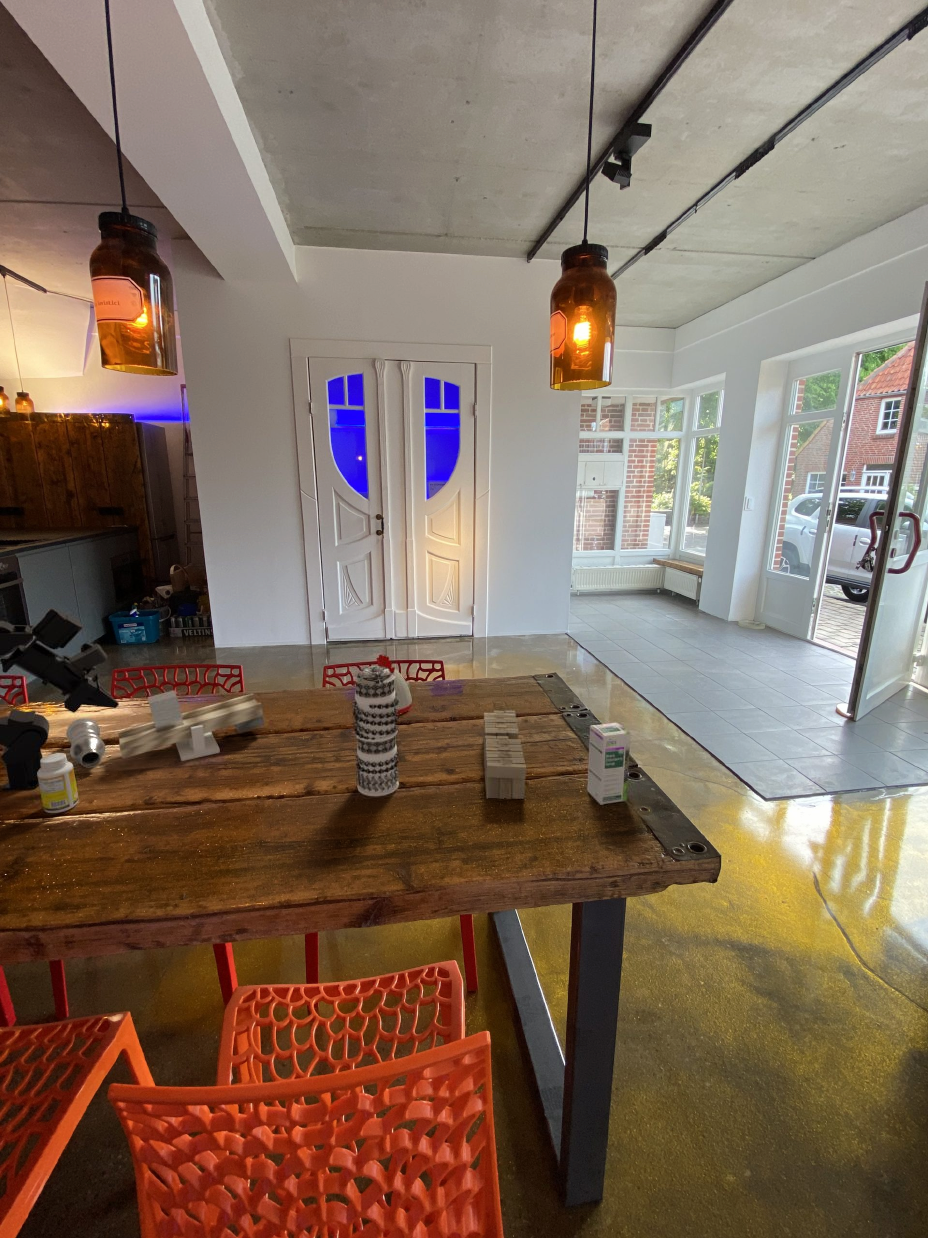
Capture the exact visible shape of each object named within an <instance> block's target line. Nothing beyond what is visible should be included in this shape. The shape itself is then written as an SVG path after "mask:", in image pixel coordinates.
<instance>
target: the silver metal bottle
mask: <svg viewBox="0 0 928 1238" xmlns="http://www.w3.org/2000/svg"><path fill="white" fill-rule="evenodd" d="M100 734H101V729H100V726H99V724H98V723H97V722H96V721H95V720H93V719H91V718H86V717H82V718H78V719H75V720H73V721H72V722H71V723H70V724H69V726H68V727H67V728H66V733H65V735H66V738H67V740H68V742H69V743H70V745H71V746H70V748H69V749H70V750H69V754H70V758H71V759H72V760H73V761H74V762H75V763H77V764H79V765H82V766H83V767H85V768H94V767H96V766H98V765H99V764H100V763H101V761H102V758H103V757H104V755H105V753H106V748H107V747H106V745H105V742H104V741H103V739H101V738H100Z"/></svg>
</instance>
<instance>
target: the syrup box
mask: <svg viewBox="0 0 928 1238" xmlns="http://www.w3.org/2000/svg"><path fill="white" fill-rule="evenodd" d="M588 743H589V747H588V749H589V750H588V768H587V769H588V770H587V788H586V789H587V792H588V793H589V794H590V796H591V797H593V798H594V799H595V800H596V802H597V803H598V804H599V805H601V806H602V805H606V804H607V805H608V804H613V803H619V802H626V801H627V796H628V783H629V781H628V780H629V762H630V747H631V733H630V731H629V730H628V729H626V728H625V727H624V726H623V725H621V724H619V723H618V722H617V721H616V722H612V723H603V724H596V725H594V724H593V725H592V724H591V725H590V726H589V741H588Z"/></svg>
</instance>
